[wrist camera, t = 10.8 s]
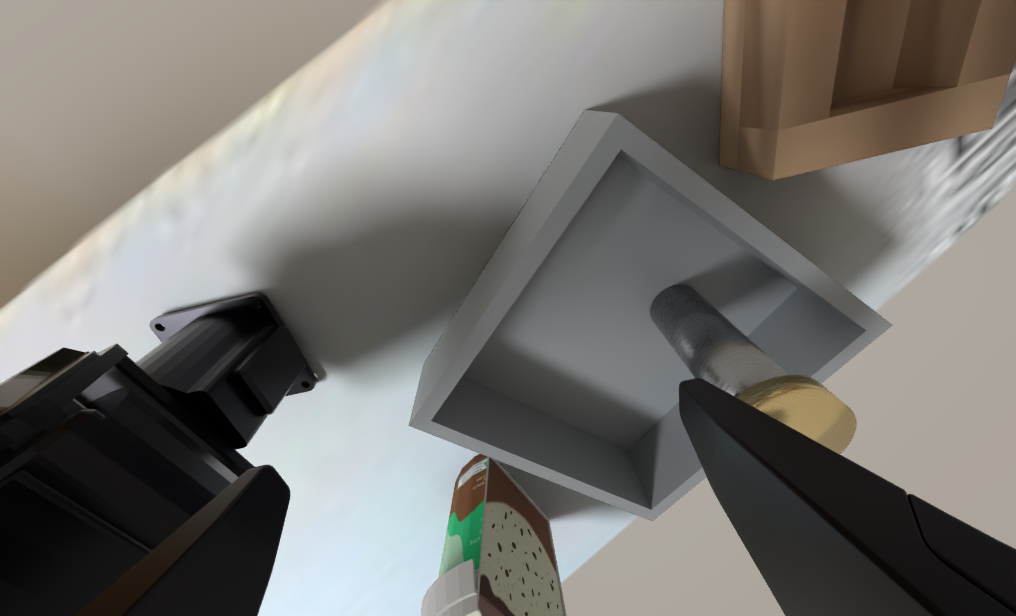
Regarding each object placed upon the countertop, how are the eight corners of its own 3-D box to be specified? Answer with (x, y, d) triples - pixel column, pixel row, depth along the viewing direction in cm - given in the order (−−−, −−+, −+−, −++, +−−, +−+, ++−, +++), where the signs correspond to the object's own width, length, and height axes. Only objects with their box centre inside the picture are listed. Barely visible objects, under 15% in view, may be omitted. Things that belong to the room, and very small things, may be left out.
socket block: (718, 165, 18) (773, 180, 15) (725, -51, 15) (800, -99, 11) (893, 122, 18) (992, 128, 14) (946, -113, 14) (1098, -183, 11)
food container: (403, 469, 28) (363, 643, 19) (476, 436, 26) (470, 605, 17) (492, 552, 33) (494, 718, 24) (557, 528, 32) (583, 693, 23)
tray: (626, 454, 28) (652, 521, 23) (423, 363, 23) (408, 425, 19) (810, 279, 22) (892, 325, 17) (584, 109, 17) (618, 112, 13)
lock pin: (642, 342, 22) (736, 488, 14) (638, 285, 21) (743, 412, 12) (708, 328, 22) (844, 468, 14) (710, 268, 20) (867, 387, 12)
